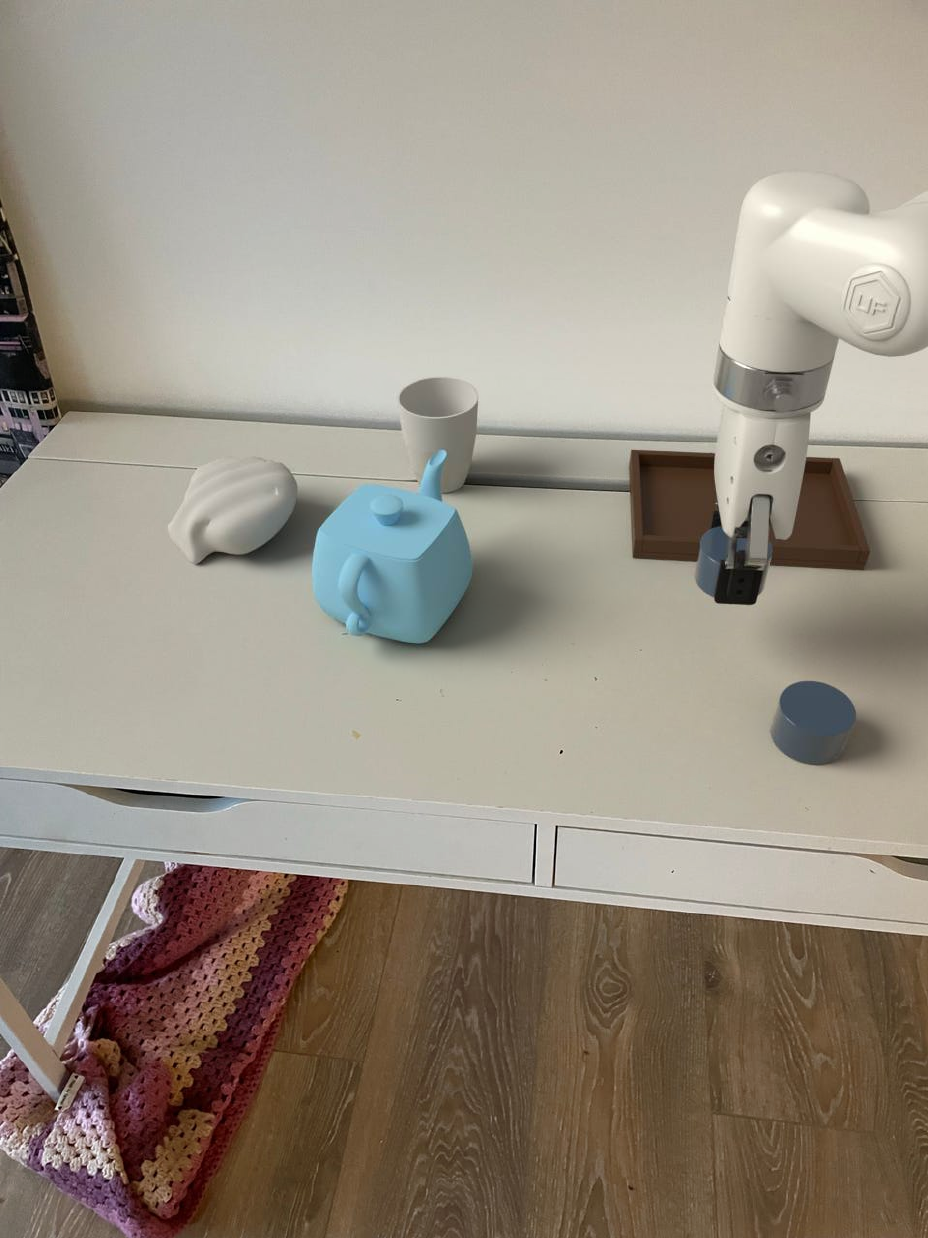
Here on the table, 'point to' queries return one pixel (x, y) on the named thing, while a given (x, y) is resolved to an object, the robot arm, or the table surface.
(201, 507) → the shell shaped sculpture
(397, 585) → the teapot
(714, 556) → the blue short cylinder
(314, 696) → the table surface
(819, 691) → the blue-grey hockey puck
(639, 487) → the tray
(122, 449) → the table surface
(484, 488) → the table surface
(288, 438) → the table surface
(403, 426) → the cup
